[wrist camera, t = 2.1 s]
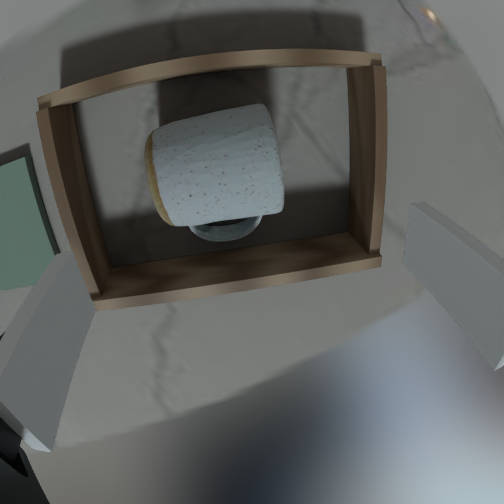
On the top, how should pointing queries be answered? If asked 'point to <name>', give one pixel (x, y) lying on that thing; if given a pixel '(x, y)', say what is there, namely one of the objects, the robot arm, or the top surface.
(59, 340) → the robot arm
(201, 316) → the top surface
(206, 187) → the ceramic mug
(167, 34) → the top surface
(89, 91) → the open wooden box frame
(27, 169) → the rubber mat
